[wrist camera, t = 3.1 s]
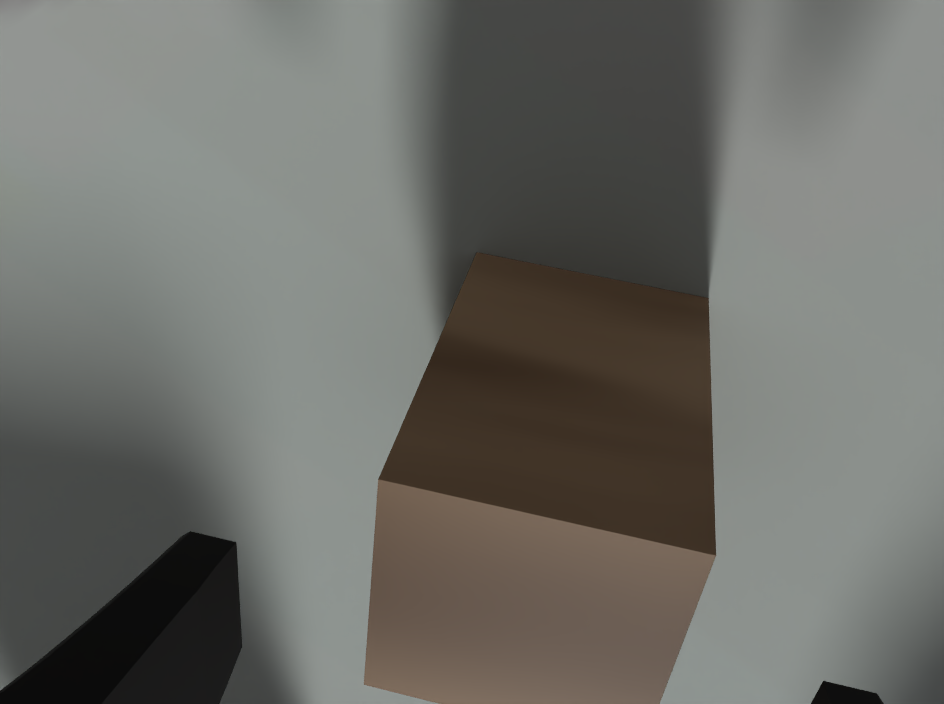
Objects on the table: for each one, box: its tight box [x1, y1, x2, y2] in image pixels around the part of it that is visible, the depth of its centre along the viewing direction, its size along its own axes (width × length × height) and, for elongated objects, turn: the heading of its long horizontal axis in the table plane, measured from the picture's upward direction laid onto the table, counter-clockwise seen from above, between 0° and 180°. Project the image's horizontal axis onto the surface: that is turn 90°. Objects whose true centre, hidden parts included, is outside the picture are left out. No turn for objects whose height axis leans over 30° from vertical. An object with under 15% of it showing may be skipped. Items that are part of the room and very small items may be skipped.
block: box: [364, 252, 716, 704], centre depth 14 cm, size 4×4×6 cm
